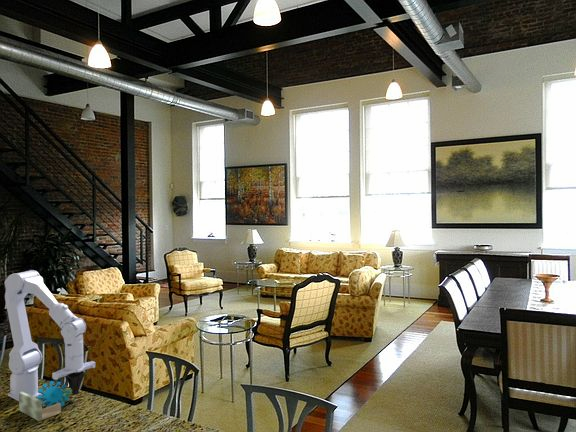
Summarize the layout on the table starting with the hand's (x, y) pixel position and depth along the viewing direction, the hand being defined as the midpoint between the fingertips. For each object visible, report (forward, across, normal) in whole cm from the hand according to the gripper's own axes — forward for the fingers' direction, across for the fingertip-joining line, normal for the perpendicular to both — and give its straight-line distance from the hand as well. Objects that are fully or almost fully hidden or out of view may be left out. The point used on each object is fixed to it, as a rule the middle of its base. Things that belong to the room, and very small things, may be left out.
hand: (74, 393), depth 159 cm
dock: (+2, -12, 0) cm, 12 cm away
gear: (+2, -7, 0) cm, 7 cm away
